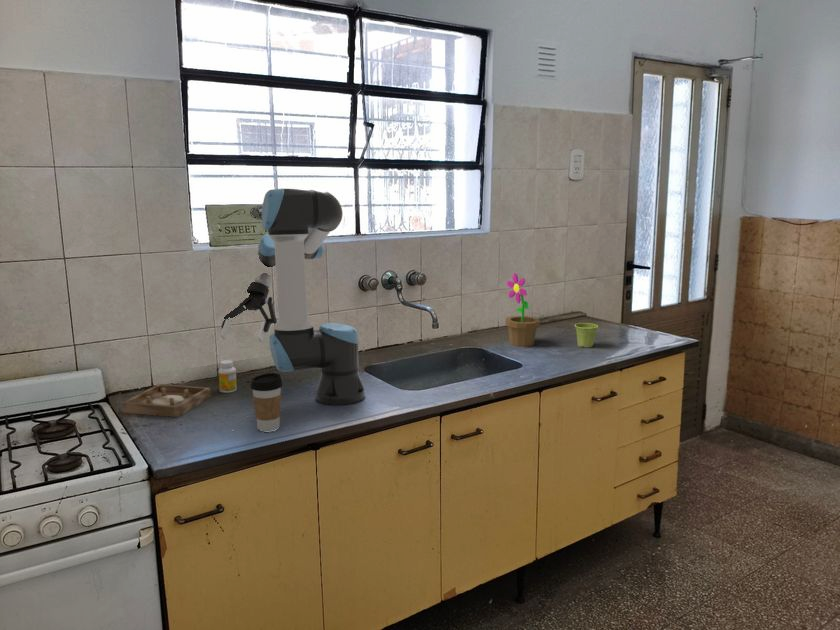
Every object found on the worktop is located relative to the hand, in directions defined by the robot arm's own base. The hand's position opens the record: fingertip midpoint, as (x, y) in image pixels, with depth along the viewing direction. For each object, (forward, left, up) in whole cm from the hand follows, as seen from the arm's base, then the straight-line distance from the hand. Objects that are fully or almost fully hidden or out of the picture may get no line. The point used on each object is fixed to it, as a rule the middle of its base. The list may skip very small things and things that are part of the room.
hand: (241, 338), depth 217 cm
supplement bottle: (-8, +7, -15) cm, 18 cm away
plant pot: (-19, -135, -15) cm, 137 cm away
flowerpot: (-4, -114, -15) cm, 115 cm away
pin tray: (-13, +26, -15) cm, 33 cm away
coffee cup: (-46, +4, -15) cm, 49 cm away
